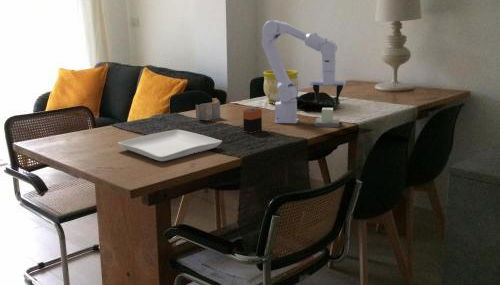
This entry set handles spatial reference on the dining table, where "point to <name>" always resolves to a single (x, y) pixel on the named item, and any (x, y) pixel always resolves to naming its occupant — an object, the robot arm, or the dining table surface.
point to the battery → (252, 119)
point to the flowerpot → (272, 83)
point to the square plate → (170, 144)
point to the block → (327, 114)
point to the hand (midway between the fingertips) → (327, 103)
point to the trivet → (327, 123)
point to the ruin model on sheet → (208, 110)
